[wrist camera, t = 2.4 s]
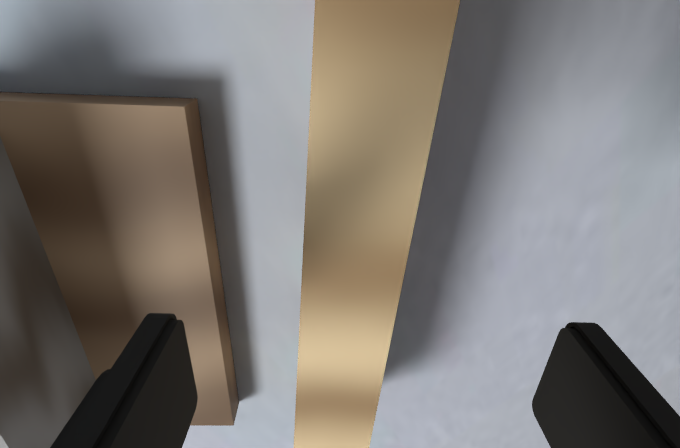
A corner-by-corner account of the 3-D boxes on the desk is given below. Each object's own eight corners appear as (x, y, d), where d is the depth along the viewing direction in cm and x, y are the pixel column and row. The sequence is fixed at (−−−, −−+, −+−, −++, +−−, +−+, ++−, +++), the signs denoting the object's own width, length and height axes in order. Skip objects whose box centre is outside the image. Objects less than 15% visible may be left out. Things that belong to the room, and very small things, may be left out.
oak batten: (334, -225, 11) (336, -446, 6) (444, -211, 11) (544, -412, 6) (300, 386, 23) (291, 495, 18) (352, 389, 24) (358, 497, 18)
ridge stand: (-237, 84, 14) (-613, 130, 9) (197, 98, 15) (113, 150, 9) (-31, 400, 23) (-151, 528, 17) (238, 402, 23) (209, 526, 18)
